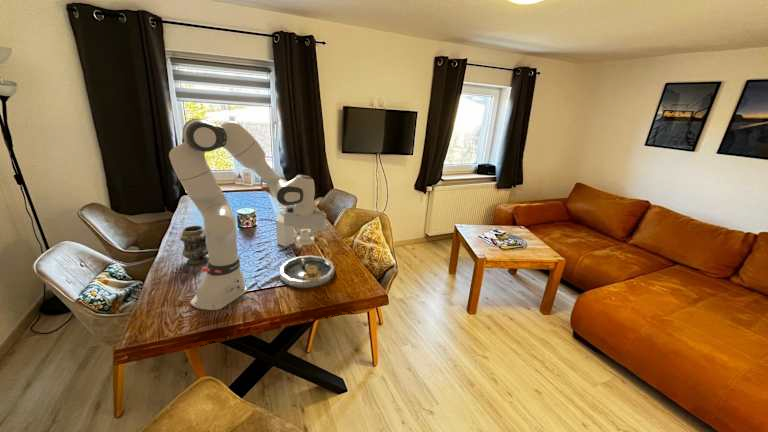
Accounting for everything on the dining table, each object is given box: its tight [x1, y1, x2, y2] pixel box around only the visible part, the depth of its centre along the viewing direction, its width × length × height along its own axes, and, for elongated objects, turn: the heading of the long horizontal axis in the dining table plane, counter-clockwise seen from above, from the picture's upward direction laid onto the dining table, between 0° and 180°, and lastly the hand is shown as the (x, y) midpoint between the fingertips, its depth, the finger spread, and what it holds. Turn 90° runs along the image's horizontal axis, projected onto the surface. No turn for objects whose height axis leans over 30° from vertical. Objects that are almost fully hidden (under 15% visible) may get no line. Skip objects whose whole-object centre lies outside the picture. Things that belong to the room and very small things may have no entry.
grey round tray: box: [279, 255, 335, 289], centre depth 150 cm, size 26×26×7 cm
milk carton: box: [275, 212, 295, 248], centre depth 178 cm, size 7×7×19 cm
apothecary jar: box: [179, 225, 209, 267], centre depth 152 cm, size 12×12×18 cm
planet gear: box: [295, 228, 315, 246], centre depth 149 cm, size 8×8×6 cm
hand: (305, 235), depth 149 cm, fingers closed on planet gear, 5 cm apart
